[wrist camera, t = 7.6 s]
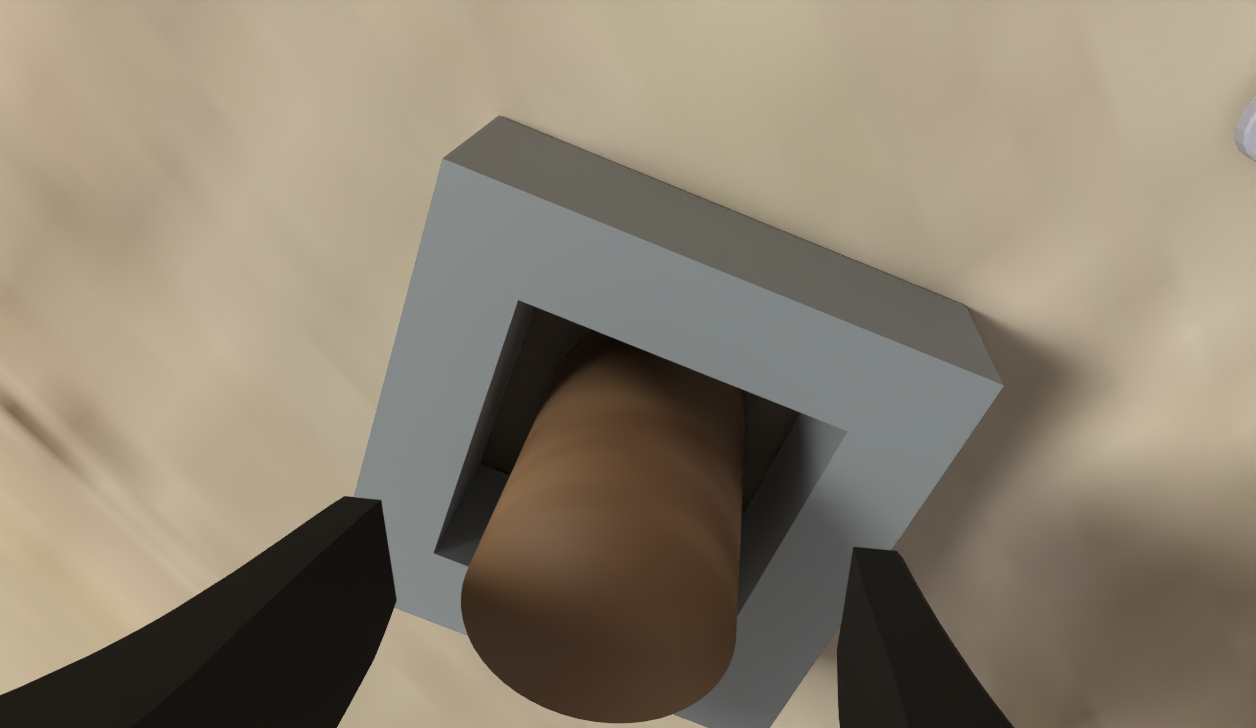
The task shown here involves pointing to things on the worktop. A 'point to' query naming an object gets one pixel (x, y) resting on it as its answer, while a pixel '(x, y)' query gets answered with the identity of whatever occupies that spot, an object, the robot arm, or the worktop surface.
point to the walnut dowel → (616, 541)
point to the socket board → (690, 336)
